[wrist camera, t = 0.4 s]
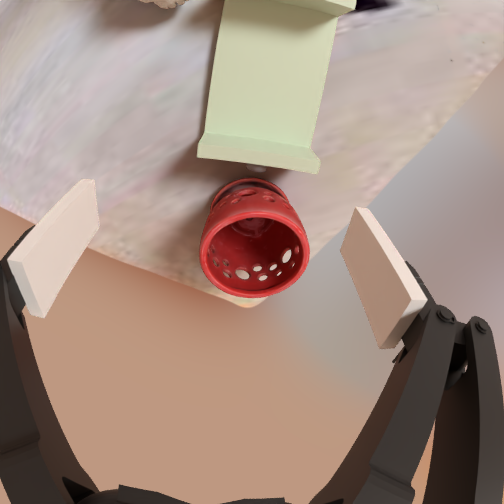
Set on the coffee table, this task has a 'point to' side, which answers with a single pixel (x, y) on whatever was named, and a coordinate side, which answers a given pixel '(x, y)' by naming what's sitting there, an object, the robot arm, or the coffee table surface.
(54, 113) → the coffee table surface
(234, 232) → the plant pot
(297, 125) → the holder
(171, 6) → the candle
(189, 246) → the coffee table surface
